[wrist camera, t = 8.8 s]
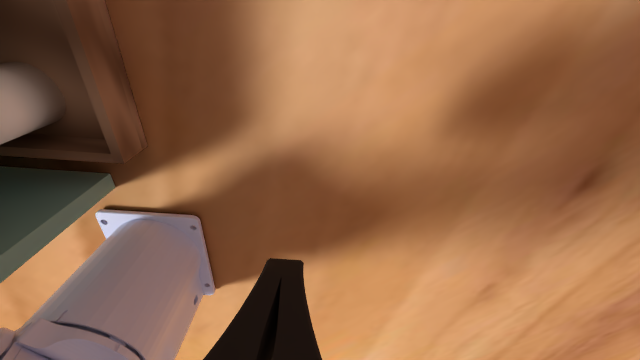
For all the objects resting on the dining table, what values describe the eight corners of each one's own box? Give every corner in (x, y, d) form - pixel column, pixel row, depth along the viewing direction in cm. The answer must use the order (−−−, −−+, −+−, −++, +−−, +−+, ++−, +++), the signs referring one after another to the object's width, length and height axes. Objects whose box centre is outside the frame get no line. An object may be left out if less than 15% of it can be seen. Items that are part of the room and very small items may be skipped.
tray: (147, 146, 19) (124, 163, 17) (13, 137, 19) (-27, 153, 16) (66, -130, 12) (8, -161, 10) (-146, -147, 12) (-251, -181, 10)
